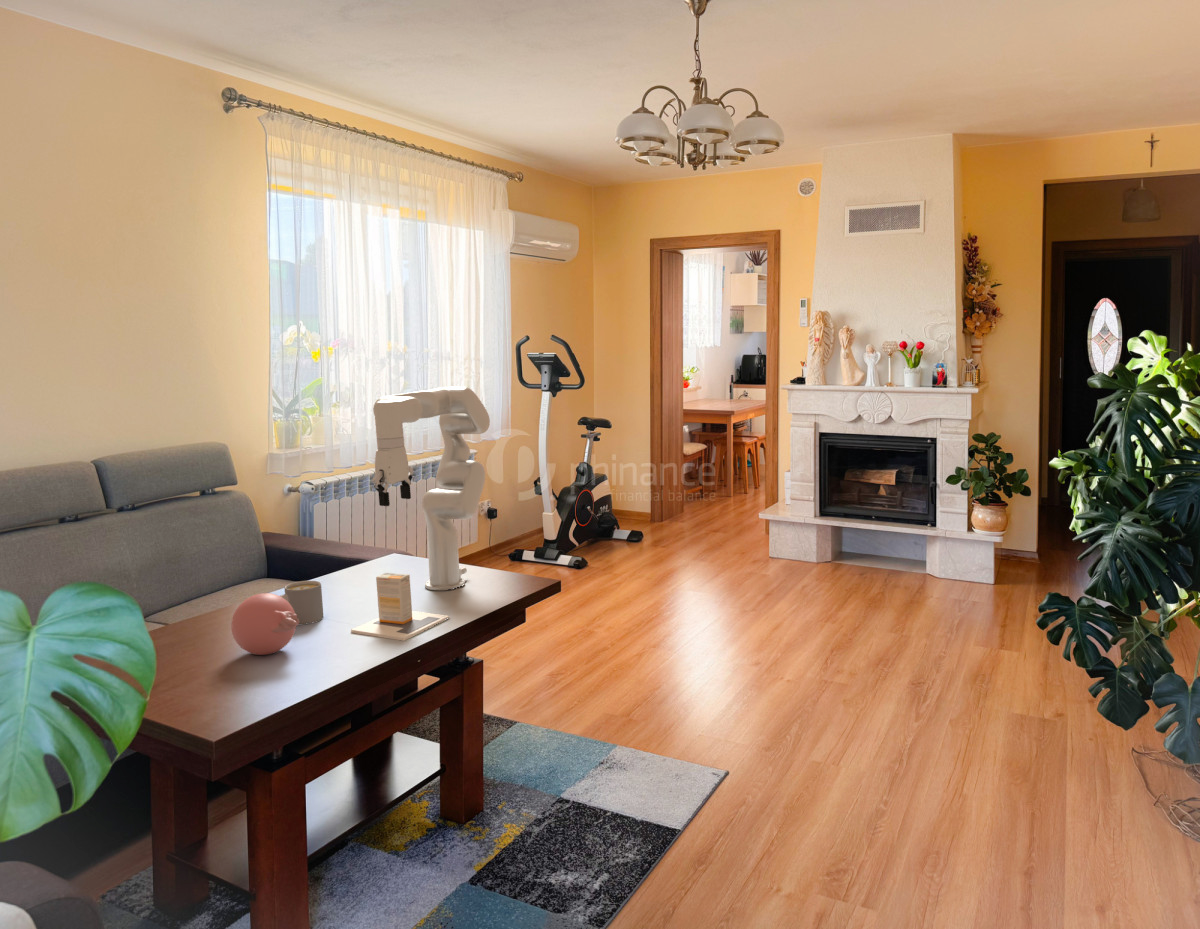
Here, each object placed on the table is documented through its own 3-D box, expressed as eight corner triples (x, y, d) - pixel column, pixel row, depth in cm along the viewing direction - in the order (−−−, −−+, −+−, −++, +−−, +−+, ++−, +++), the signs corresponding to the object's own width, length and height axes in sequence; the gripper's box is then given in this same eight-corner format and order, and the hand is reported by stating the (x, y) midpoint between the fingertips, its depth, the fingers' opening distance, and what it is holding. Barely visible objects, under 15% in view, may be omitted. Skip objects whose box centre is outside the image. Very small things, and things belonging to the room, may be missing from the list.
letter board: (398, 611, 253) (398, 608, 253) (449, 618, 245) (449, 615, 245) (351, 632, 235) (350, 629, 235) (404, 640, 227) (403, 637, 227)
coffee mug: (320, 611, 255) (317, 578, 253) (326, 620, 246) (323, 586, 245) (272, 619, 249) (269, 585, 247) (276, 628, 240) (273, 593, 238)
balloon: (269, 671, 207) (264, 609, 205) (221, 656, 219) (216, 597, 217) (322, 652, 220) (318, 593, 218) (274, 639, 231) (269, 583, 229)
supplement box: (413, 619, 242) (410, 574, 240) (403, 625, 237) (400, 578, 235) (388, 617, 245) (385, 572, 243) (378, 622, 240) (375, 576, 239)
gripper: (399, 438, 256) (403, 495, 259) (360, 447, 241) (365, 507, 244) (419, 439, 253) (424, 496, 256) (381, 448, 238) (386, 509, 241)
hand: (395, 502), depth 250 cm, fingers open, 9 cm apart
